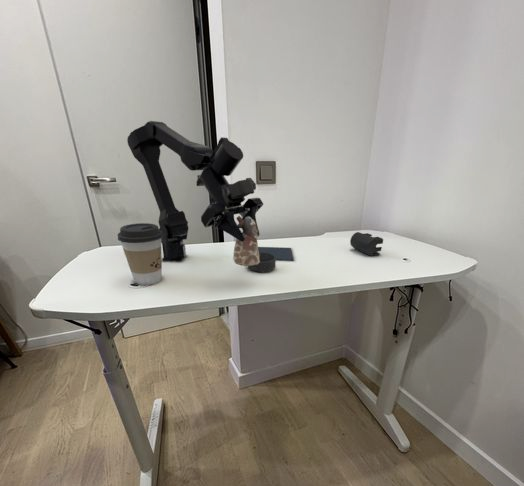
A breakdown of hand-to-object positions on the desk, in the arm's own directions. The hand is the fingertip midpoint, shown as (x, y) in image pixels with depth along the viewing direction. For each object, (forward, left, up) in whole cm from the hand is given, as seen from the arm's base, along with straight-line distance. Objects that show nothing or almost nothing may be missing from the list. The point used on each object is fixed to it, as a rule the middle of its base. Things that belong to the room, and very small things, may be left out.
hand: (250, 238), depth 75 cm
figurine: (-1, +1, -7) cm, 7 cm away
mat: (+4, +28, -13) cm, 32 cm away
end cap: (+42, +33, -13) cm, 55 cm away
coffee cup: (-29, +1, -13) cm, 32 cm away
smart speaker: (+3, +13, -13) cm, 19 cm away
